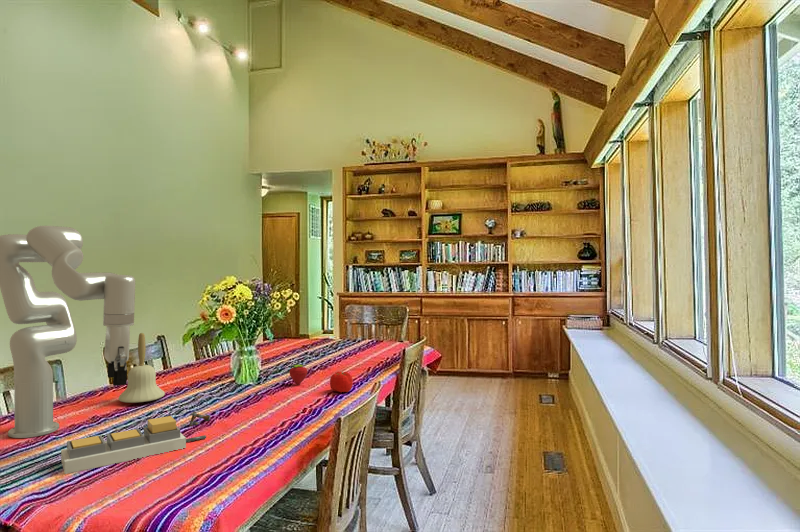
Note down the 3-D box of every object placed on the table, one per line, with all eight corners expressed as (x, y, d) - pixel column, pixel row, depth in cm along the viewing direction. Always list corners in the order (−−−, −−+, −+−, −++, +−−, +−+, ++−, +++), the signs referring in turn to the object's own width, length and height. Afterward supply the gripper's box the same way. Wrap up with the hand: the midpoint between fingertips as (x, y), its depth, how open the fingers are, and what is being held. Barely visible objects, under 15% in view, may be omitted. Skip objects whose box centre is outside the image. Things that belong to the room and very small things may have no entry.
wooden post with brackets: (185, 425, 160) (189, 410, 161) (202, 428, 167) (206, 414, 168) (190, 426, 159) (194, 411, 161) (206, 429, 166) (210, 414, 168)
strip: (61, 461, 133) (61, 441, 133) (201, 433, 154) (201, 416, 154) (64, 474, 125) (64, 452, 125) (211, 443, 146) (211, 425, 146)
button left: (71, 449, 133) (71, 440, 133) (98, 444, 136) (98, 435, 136) (73, 456, 128) (73, 447, 128) (101, 450, 132) (101, 442, 132)
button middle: (110, 441, 138) (110, 433, 138) (135, 437, 142) (135, 429, 142) (114, 448, 133) (114, 439, 133) (140, 443, 137) (140, 435, 137)
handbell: (109, 403, 187) (108, 334, 187) (146, 393, 200) (146, 329, 200) (136, 408, 180) (136, 337, 180) (173, 398, 193) (173, 331, 193)
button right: (147, 427, 144) (147, 419, 144) (170, 423, 147) (170, 415, 147) (152, 433, 139) (152, 425, 139) (176, 429, 142) (176, 421, 142)
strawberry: (306, 386, 212) (306, 362, 212) (288, 386, 212) (288, 362, 212) (308, 383, 218) (308, 359, 218) (290, 383, 218) (290, 359, 218)
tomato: (342, 395, 198) (342, 376, 198) (325, 392, 204) (325, 373, 204) (358, 390, 206) (358, 372, 206) (342, 387, 211) (342, 369, 211)
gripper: (99, 316, 148) (97, 375, 148) (108, 324, 134) (105, 390, 135) (128, 315, 152) (126, 372, 153) (139, 323, 139) (137, 386, 139)
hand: (116, 380), depth 144 cm, fingers open, 9 cm apart
